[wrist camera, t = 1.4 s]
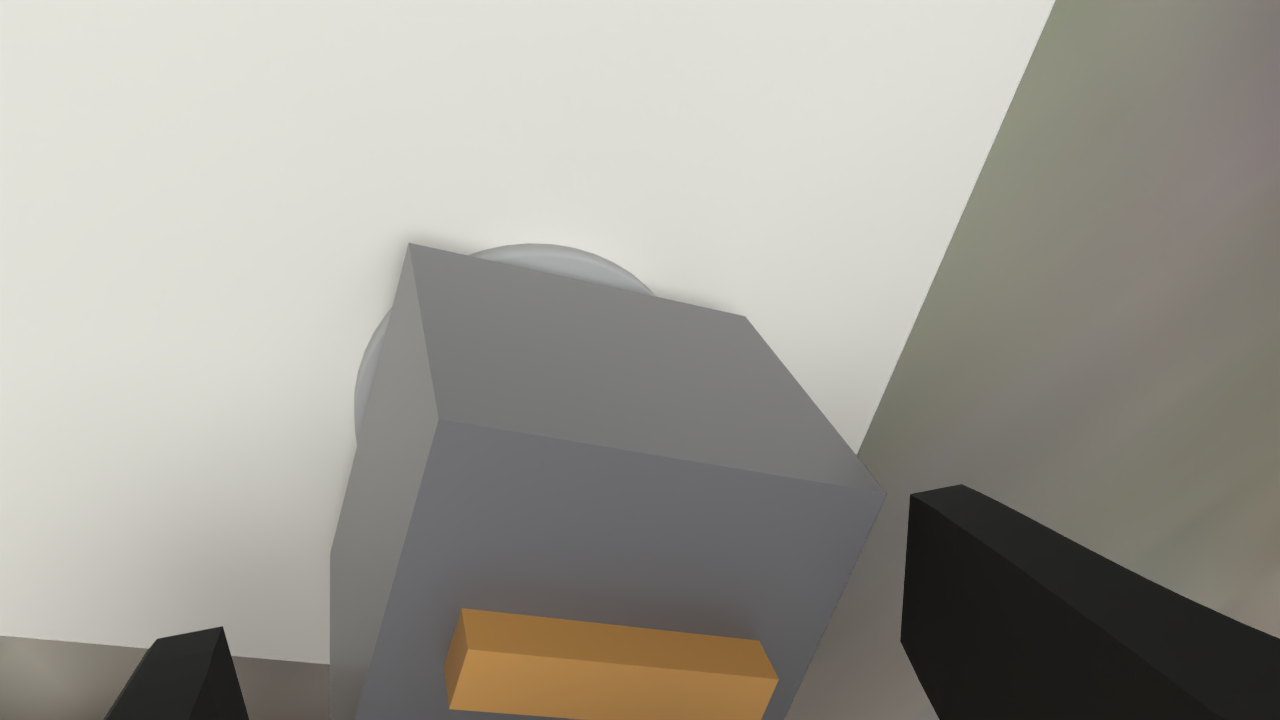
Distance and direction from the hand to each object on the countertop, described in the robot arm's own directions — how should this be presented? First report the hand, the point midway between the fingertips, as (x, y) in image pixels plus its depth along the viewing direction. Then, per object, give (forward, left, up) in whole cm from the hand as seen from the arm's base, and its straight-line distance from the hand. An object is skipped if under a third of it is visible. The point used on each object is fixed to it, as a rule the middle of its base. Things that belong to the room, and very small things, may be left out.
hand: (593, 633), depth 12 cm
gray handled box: (0, 0, -4) cm, 4 cm away
